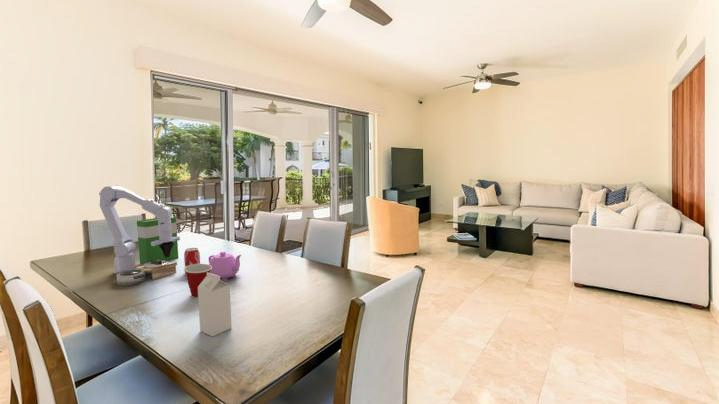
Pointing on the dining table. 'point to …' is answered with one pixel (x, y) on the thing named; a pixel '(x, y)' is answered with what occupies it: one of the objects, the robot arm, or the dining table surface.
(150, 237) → the hardback book
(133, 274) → the cooker
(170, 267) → the lid rest
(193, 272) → the plastic cup
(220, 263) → the teapot
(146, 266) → the lid
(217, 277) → the milk carton
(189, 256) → the soda can
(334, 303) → the dining table surface
